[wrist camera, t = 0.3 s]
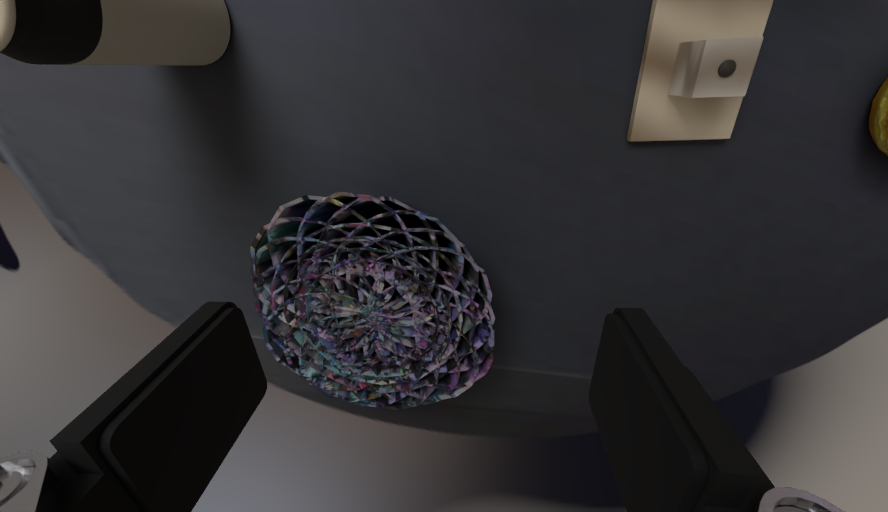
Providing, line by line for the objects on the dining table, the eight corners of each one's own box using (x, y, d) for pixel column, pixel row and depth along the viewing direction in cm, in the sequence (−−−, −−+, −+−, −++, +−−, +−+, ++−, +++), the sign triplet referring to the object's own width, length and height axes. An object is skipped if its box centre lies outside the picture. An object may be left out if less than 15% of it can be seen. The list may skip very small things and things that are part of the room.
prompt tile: (655, -12, 29) (687, -26, 25) (772, -19, 29) (826, -35, 24) (626, 139, 35) (648, 150, 31) (724, 137, 34) (761, 147, 30)
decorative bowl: (326, 356, 54) (300, 416, 45) (242, 181, 40) (181, 221, 31) (499, 342, 50) (505, 405, 42) (475, 145, 36) (478, 180, 28)
